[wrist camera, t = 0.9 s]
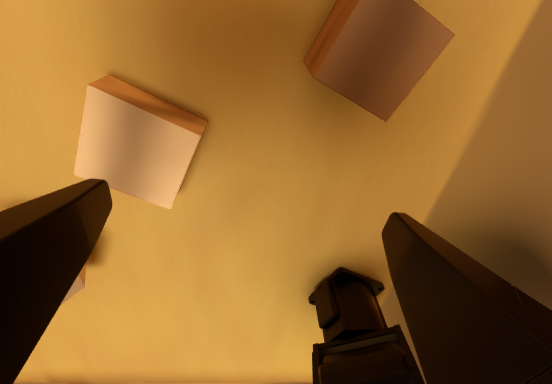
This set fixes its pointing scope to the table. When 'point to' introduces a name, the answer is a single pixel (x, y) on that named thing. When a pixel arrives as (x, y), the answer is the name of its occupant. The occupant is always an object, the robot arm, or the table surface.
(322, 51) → the walnut cube
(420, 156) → the table surface
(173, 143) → the maple base
